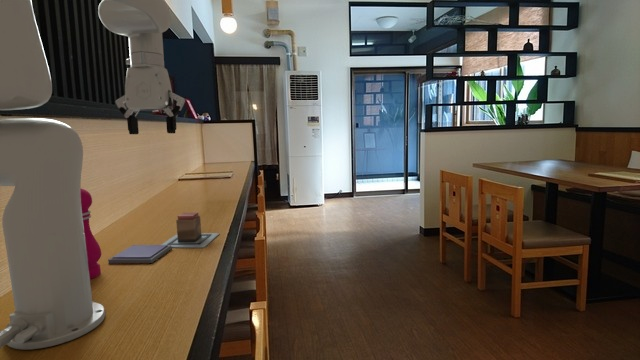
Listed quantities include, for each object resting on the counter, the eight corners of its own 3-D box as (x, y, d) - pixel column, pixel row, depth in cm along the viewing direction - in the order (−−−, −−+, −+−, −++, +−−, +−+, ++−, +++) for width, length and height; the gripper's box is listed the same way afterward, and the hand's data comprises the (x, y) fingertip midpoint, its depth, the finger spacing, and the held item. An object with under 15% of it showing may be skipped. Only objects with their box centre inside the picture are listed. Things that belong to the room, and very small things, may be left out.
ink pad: (151, 263, 85) (151, 258, 84) (108, 263, 85) (108, 258, 85) (171, 249, 94) (171, 244, 94) (132, 249, 95) (132, 244, 95)
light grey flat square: (204, 247, 95) (204, 245, 95) (157, 247, 96) (157, 246, 96) (219, 234, 107) (219, 232, 107) (178, 234, 108) (177, 232, 107)
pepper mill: (84, 284, 74) (72, 183, 71) (53, 281, 76) (40, 183, 73) (111, 270, 81) (101, 178, 78) (82, 268, 83) (72, 178, 80)
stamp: (195, 242, 99) (193, 216, 98) (178, 242, 99) (175, 216, 98) (201, 237, 103) (199, 212, 102) (185, 237, 104) (183, 212, 103)
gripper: (103, 61, 89) (110, 134, 91) (174, 58, 88) (179, 132, 90) (122, 67, 96) (128, 134, 98) (188, 64, 95) (192, 133, 97)
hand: (152, 133), depth 94 cm, fingers open, 9 cm apart
